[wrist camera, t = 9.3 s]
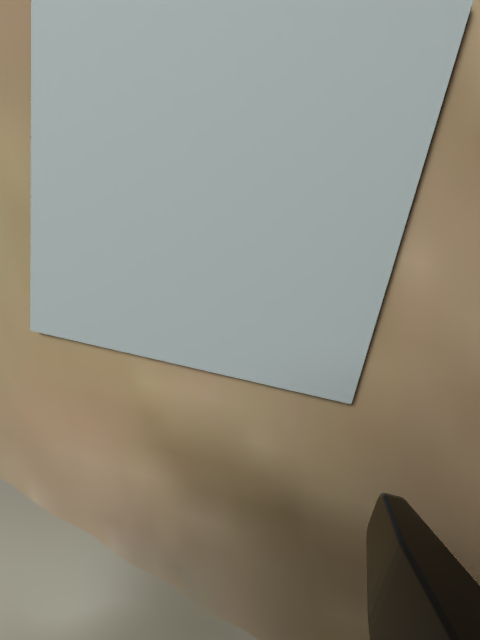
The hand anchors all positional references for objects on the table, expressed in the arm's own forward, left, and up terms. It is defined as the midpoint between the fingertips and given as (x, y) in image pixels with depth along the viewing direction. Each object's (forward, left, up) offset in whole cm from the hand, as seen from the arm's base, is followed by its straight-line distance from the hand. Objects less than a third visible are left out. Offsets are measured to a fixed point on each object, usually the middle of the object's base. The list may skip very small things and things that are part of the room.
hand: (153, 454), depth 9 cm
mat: (+2, -4, -12) cm, 13 cm away
